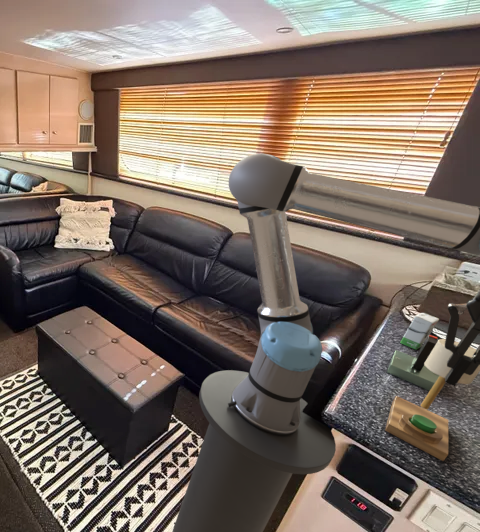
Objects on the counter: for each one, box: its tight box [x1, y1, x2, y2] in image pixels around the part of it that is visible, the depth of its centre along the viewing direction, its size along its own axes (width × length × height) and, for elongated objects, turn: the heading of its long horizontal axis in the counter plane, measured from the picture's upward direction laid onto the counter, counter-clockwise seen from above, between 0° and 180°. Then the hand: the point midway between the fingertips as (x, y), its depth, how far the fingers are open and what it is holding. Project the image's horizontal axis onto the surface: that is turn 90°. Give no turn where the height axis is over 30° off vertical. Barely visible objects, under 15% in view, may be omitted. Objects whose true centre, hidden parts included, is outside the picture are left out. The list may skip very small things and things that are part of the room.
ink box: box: [399, 312, 440, 351], centre depth 117 cm, size 9×5×12 cm, turn 120°
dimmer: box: [386, 349, 439, 392], centre depth 101 cm, size 14×11×3 cm
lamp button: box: [410, 414, 437, 434], centre depth 75 cm, size 4×4×2 cm
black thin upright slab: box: [412, 334, 439, 371], centre depth 98 cm, size 6×2×10 cm, turn 131°
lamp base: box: [384, 395, 449, 462], centre depth 78 cm, size 16×10×4 cm, turn 131°
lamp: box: [420, 338, 480, 410], centre depth 78 cm, size 8×8×18 cm
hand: (449, 381), depth 70 cm, fingers closed
